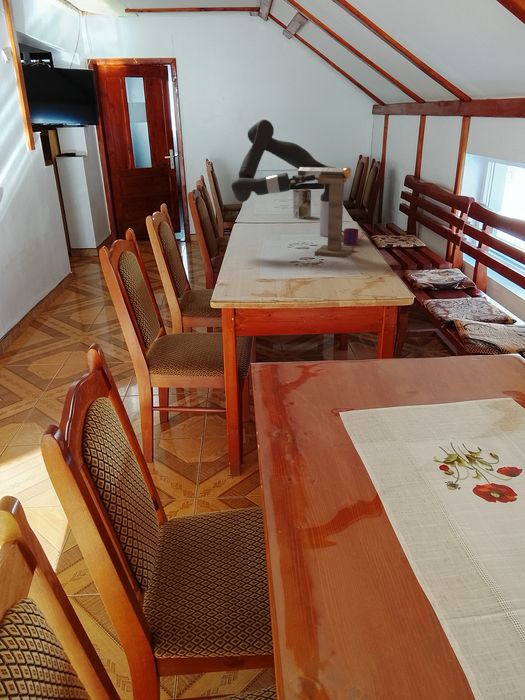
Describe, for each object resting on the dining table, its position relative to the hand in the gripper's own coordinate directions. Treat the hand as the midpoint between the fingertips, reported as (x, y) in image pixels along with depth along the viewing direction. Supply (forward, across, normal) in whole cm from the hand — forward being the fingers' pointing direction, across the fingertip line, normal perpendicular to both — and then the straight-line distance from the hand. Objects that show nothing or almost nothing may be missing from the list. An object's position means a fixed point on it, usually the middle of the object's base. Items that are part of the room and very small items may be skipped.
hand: (315, 176), depth 229 cm
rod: (+4, 0, +1) cm, 4 cm away
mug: (+10, +19, +34) cm, 40 cm away
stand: (+4, 0, +33) cm, 34 cm away
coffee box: (-13, +94, +25) cm, 98 cm away
